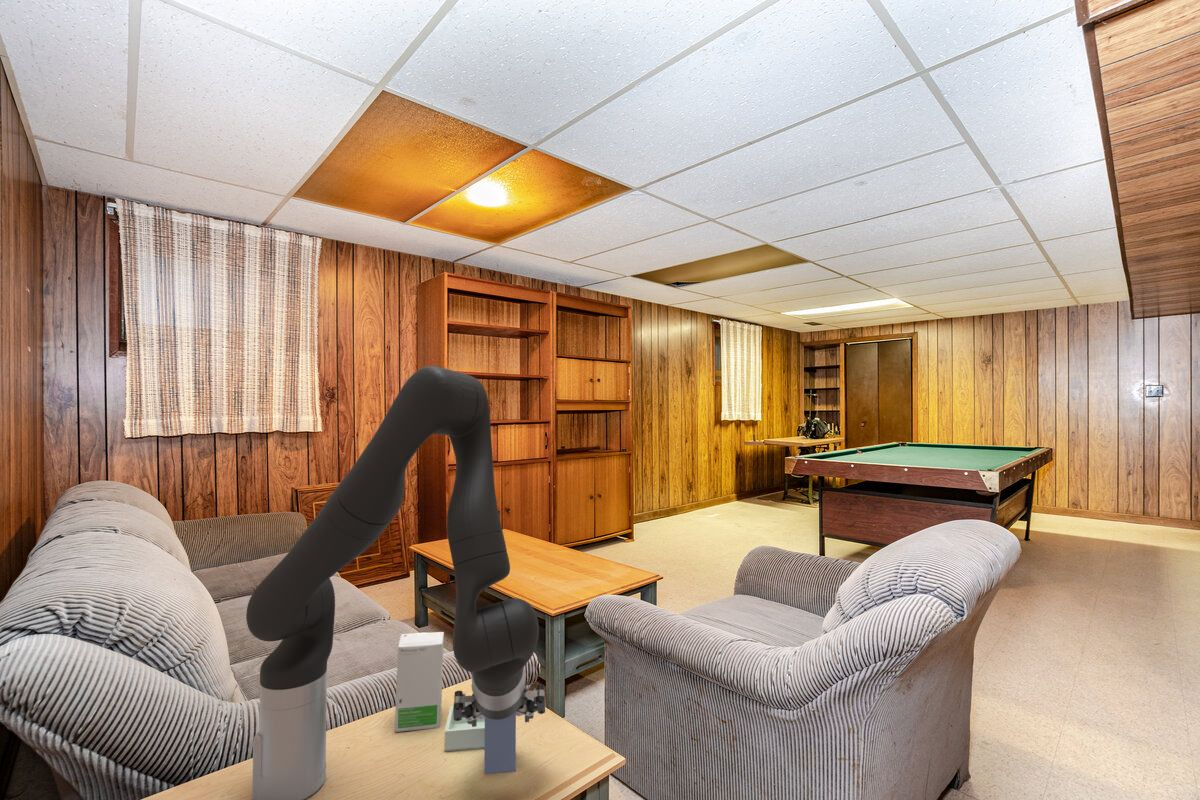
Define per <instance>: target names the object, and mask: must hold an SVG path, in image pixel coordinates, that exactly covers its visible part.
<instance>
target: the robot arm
mask: <svg viewBox="0 0 1200 800" xmlns="http://www.w3.org/2000/svg"><path fill="white" fill-rule="evenodd" d="M491 426H492V425H491V411H490V404H489V397H488V394H487V391H486V388H485V387H484V385H483V384H482V382H481V381H480V380H479V379H477V378H476V377H474V376H472V375H469V374H466V373H463V372H460V371H456V370H452V369H449V368H445V367H440V366H435V365H428V366H423V367H421V368H419V369H417V370H416V371H415V372H413V374H411V375H410V377H409V378H408V379H407V380H406V382H405V383H404V384H403V385H402V387H401V389H400V390H399V392H398V393H397V395H396V397H395V398H394V401H393V402H392V404H391V406H390V407H389V409H388V411H387V413H386V414H385V415H384V418H383V420H382V422H381V424H380V425H379V426H378V428H377V430H376V431H375V433H374V435H372V436H373V437H372V438H371V439H370V441H369V442H368V444H367V445H366V447H365V448H364V449H363V451H362V452H361V454H360V456H359V457H358V458H357V460H356V462H355V463H354V464H353V466H352V467H351V468H350V470H349V471H348V472H347V473H346V474H345V476H344V477H343V478H342V480H341V481H340V482H339V483H338V485H337V487H336V488H334V491H333V492H332V493H331V494H330V496H329V498H328V499H327V500H326V501H325V503H324V504H323V506H322V508H321V509H320V510H319V512H318V514H317V515H316V516H315V518H314V519H313V520H312V521H311V523H310V524H309V525H308V526H307V528H306V529H305V530H304V532H303V533H302V534H301V536H300V537H299V538H298V540H297V541H296V542H295V544H294V545H293V547H292V548H291V550H289V552H287V554H286V555H285V556H284V557H283V558H282V560H281V561H280V562H279V563H278V564H277V565H276V566H275V567H273V569H272V570H271V571H270V572H269V573H268V574H267V575H266V577H264V579H263V580H261V582H259V584H258V585H257V587H256V588H255V589H254V591H253V592H252V593H251V595H250V597H249V599H248V603H247V606H246V618H245V619H246V625H247V628H248V631H249V632H250V633H251V634H252V636H253V637H255V638H256V639H258V640H260V641H262V642H263V641H264V642H277V641H280V643H279V644H278V646H277V647H276V648H274V650H273V651H271V653H270V654H268V656H266V658H264V660H263V662H262V664H261V666H260V670H259V720H258V721H259V722H258V723H259V724H258V728H259V729H258V732H257V733H256V734H255V735H254V737H253V741H252V786H251V787H252V789H251V790H252V791H251V794H252V797H251V800H306V799H307V798H309V797H311V796H312V795H314V794H315V793H316V792H318V791H319V789H320V788H321V787H322V786H323V784H324V783H325V781H326V776H327V775H326V773H327V772H326V770H327V769H326V768H327V761H326V760H327V707H328V705H327V703H328V702H327V700H328V699H327V697H328V692H327V691H328V688H327V687H328V686H327V684H328V660H329V657H330V656H331V653H332V650H333V645H334V644H333V642H334V628H335V616H336V614H335V613H336V595H335V594H336V593H335V589H334V585H333V582H332V580H331V577H333V576H334V575H335V574H336V573H338V572H339V571H340V570H342V569H343V568H345V567H346V566H347V565H349V564H350V563H351V562H352V561H353V562H354V560H355V559H356V558H358V557H359V556H360V555H361V554H363V553H364V552H365V551H366V550H368V549H369V548H370V547H371V546H372V545H373V544H374V543H375V542H376V541H377V540H378V539H379V537H381V535H382V534H383V533H384V531H385V530H386V529H387V527H388V526H389V525H390V524H391V522H392V521H393V519H395V517H396V515H398V512H399V511H400V509H401V507H402V505H403V502H404V497H405V489H406V488H405V484H406V470H407V467H408V465H409V463H410V461H411V460H412V458H413V456H414V455H415V454H416V452H417V451H418V450H419V449H420V447H421V446H422V445H423V444H424V442H425V441H426V440H427V439H429V438H430V437H431V436H432V435H440V436H447V437H449V439H450V440H449V441H450V443H451V446H452V449H453V454H454V459H455V479H454V483H453V488H452V493H451V494H450V495H451V496H450V499H449V504H448V509H447V514H446V515H447V516H446V533H447V534H446V535H447V541H448V546H449V551H450V555H451V556H450V557H451V561H452V562H451V563H452V566H453V568H452V569H453V573H454V581H455V614H454V622H453V633H452V650H453V656H454V658H455V660H456V663H457V664H458V665H459V667H461V668H462V669H463V670H465V671H466V672H469V673H472V675H471V691H472V694H471V695H466V693H464V692H463V691H462V690H456V691H454V699H453V705H454V707H453V713H454V720H455V721H460V720H462V717H464V718H466V721H467V723H468V724H472V727H476V726H477V719H480V720H481V719H483V718H485V717H487V718H489V719H493V720H500V719H504V718H507V717H509V716H511V715H512V714H513V715H516V717H521V716H524V723H529V722H530V720H531V719H532V720H533V719H534V715H535V713H536V712H537V714H539V715H543V714H545V713H546V695H545V692H546V691H545V685H544V684H541V683H539V684H536V686H535V687H534V688H533V690H528V689H527V688H526V687H525V686H526V670H525V666H526V665H527V664H528V662H529V661H530V660H531V658H532V657H533V655H534V653H535V651H536V649H537V646H538V643H539V634H540V627H539V625H540V623H539V619H538V616H537V613H536V611H535V609H534V608H533V606H532V605H531V604H530V603H529V602H528V601H526V600H524V599H522V598H519V597H518V598H515V597H514V598H509V599H506V600H503V601H502V600H501V601H500V602H499V601H498V602H496V603H491V604H488V605H485V606H482V607H478V608H477V606H476V605H477V599H478V597H479V595H480V594H481V593H482V592H483V591H484V590H486V589H487V588H490V587H491V586H493V585H495V584H497V583H499V582H500V581H503V580H504V579H505V578H507V577H508V576H509V574H510V572H511V564H510V557H509V554H508V550H507V549H508V548H507V545H506V540H505V535H504V532H503V528H502V527H503V526H502V523H501V518H500V513H499V509H498V501H497V496H496V488H495V487H496V485H495V474H494V458H493V446H492V445H493V443H492V428H491Z"/></svg>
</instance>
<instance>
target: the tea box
mask: <svg viewBox="0 0 1200 800" xmlns="http://www.w3.org/2000/svg"><path fill="white" fill-rule="evenodd" d="M516 719H517V716H516V715H513V714H512V715H511V716H509V717H507V718H504V719H500V720H493V719H489V718H487V717H485V748H484V757H483V758H484V762H483V763H484V775H491V774H500V773H501V774H502V773H511V772H516V771H517V770H516V767H517V766H516V762H517V760H516V755H517V754H516V753H517V752H516V750H517V749H516V747H517V746H516V744H517V743H516V741H517V740H516V739H517V732H516V731H517V727H516V726H517V720H516Z"/></svg>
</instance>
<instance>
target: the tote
mask: <svg viewBox="0 0 1200 800" xmlns="http://www.w3.org/2000/svg"><path fill="white" fill-rule="evenodd" d="M453 707H454V704H450V706H449V710H448V716H447V720H446V725H445V729H444V753H448V752H458V751H459V752H460V751H470V750H471V751H472V750H481V749H485V718H483V719H481V720H480V719H477V726H476V727H472V724H468V723H467V721H466V718H464V717H462V720H460V721H455V720H454V713H453Z"/></svg>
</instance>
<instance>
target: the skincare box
mask: <svg viewBox="0 0 1200 800" xmlns="http://www.w3.org/2000/svg"><path fill="white" fill-rule="evenodd" d="M444 639H445V632H444V631H436V632H434V631H433V632H425V631H424V632H417V633H412V632H411V633H402V634H401V635H400V637H399V642H398V646H397V664H396V665H397V666H396V688H395V689H396V690H395V691H396V692H395V714H394V715H395V716H394V719H395V720H394V732H395V733H398V732H399V733H400V732H410V731H417V730H419V731H420V730H427V729H429V730H430V729H436V728H440V726H441V716H442V700H443V699H442V698H443V674H444V673H443V669H444V668H443V667H444V664H443V663H444V642H445V641H444Z"/></svg>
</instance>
